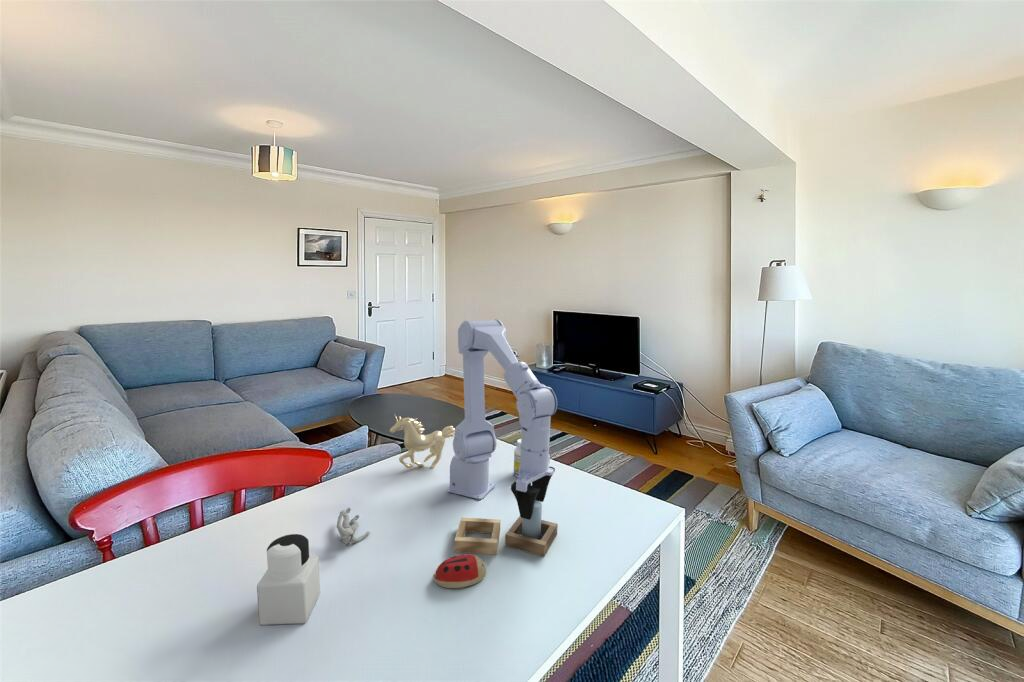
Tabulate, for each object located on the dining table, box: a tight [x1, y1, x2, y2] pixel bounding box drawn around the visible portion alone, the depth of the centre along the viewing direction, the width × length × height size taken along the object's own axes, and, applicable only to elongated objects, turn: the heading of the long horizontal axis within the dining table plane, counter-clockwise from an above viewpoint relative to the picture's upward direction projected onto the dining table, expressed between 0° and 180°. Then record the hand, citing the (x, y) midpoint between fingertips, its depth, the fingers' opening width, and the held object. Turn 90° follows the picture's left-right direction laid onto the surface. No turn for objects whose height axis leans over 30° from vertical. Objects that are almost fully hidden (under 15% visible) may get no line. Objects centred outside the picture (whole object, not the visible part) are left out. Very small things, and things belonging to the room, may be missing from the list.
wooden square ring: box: [504, 515, 558, 558], centre depth 95 cm, size 8×8×2 cm
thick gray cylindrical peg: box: [521, 500, 543, 540], centre depth 95 cm, size 4×4×8 cm
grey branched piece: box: [336, 507, 371, 548], centre depth 95 cm, size 8×5×12 cm
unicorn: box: [389, 413, 456, 469], centre depth 128 cm, size 20×4×17 cm, turn 121°
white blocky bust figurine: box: [256, 533, 321, 626], centre depth 74 cm, size 7×7×12 cm
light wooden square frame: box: [453, 517, 501, 555], centre depth 95 cm, size 8×8×2 cm
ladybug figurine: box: [432, 553, 487, 589], centre depth 83 cm, size 7×10×4 cm
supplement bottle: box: [513, 438, 521, 478], centre depth 125 cm, size 5×5×10 cm
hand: (532, 508), depth 94 cm, fingers open, 7 cm apart
